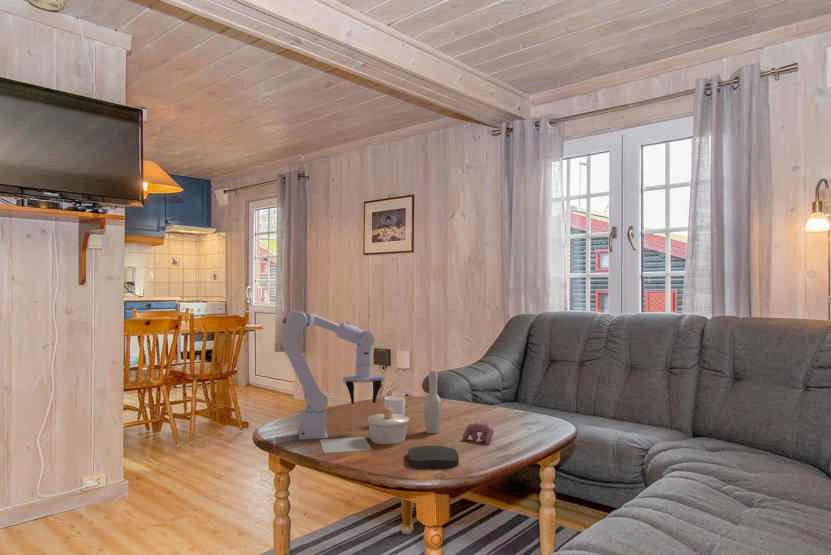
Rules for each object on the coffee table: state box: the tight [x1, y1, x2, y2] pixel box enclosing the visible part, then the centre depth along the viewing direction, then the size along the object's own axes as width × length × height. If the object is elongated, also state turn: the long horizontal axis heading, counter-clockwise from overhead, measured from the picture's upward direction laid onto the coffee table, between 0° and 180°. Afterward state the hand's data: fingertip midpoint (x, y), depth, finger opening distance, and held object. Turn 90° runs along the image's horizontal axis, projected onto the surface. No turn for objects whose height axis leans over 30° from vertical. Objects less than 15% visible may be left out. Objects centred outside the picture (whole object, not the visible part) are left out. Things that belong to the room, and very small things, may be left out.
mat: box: [319, 436, 373, 454], centre depth 183 cm, size 15×15×1 cm
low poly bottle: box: [423, 369, 443, 434], centre depth 201 cm, size 6×6×22 cm
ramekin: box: [367, 421, 409, 445], centre depth 189 cm, size 13×13×7 cm
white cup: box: [383, 395, 406, 415], centre depth 211 cm, size 8×8×10 cm
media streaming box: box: [407, 445, 460, 469], centre depth 169 cm, size 15×15×3 cm
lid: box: [366, 407, 410, 426], centre depth 189 cm, size 14×14×4 cm
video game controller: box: [462, 422, 495, 446], centre depth 190 cm, size 10×5×7 cm, turn 60°
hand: (363, 402), depth 200 cm, fingers open, 7 cm apart
